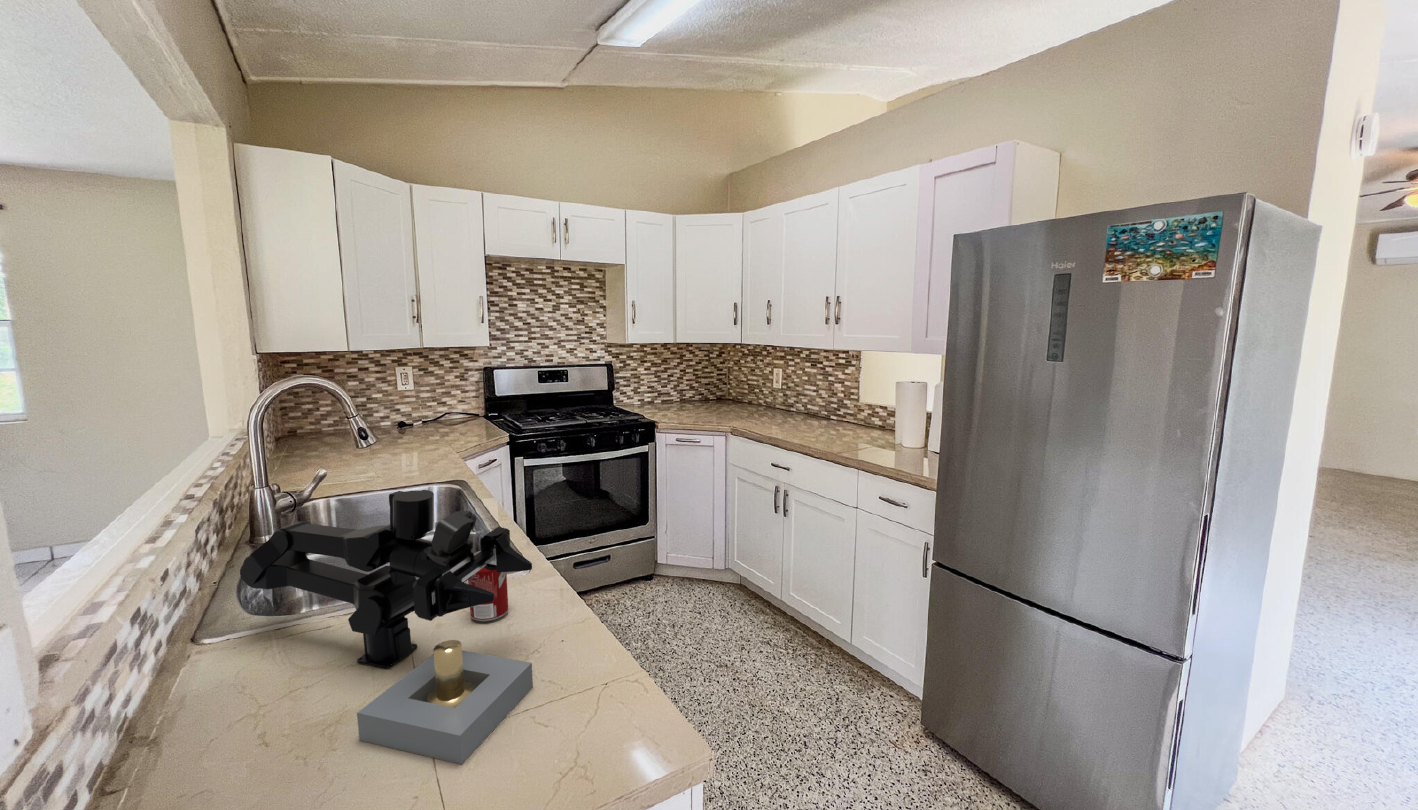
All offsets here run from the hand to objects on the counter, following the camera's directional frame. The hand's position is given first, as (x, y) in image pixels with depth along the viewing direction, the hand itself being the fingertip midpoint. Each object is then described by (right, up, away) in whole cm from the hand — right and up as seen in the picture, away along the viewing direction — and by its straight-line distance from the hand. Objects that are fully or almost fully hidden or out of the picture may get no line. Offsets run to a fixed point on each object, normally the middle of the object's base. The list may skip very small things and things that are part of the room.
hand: (513, 581), depth 86 cm
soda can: (-12, -14, +23) cm, 29 cm away
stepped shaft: (-7, -17, -4) cm, 19 cm away
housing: (-7, -17, -4) cm, 19 cm away
